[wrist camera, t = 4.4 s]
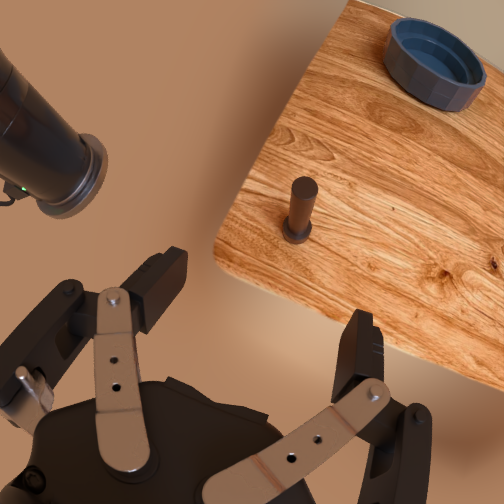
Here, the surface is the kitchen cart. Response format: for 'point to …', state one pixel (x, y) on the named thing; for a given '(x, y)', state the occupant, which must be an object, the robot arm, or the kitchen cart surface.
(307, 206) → the brown rubber stamp
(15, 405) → the robot arm
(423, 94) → the bowl
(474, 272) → the kitchen cart surface
